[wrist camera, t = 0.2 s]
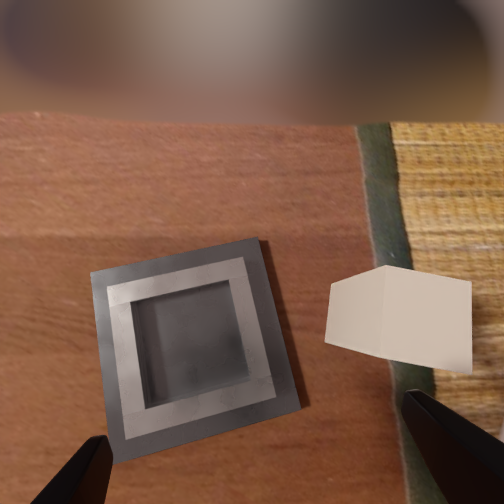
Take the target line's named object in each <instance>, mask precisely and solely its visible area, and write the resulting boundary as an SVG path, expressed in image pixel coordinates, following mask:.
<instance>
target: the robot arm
mask: <svg viewBox="0 0 504 504" xmlns="http://www.w3.org/2000/svg"><path fill="white" fill-rule="evenodd" d="M401 412H402V416H403V419H404V421H405V423H406V425H407V427H408V429H409V431H410V433H411V435H412V437H413V439H414V441H415V443H416V445H417V447H418V449H419V451H420V453H421V455H422V457H423V459H424V461H425V463H426V465H427V467H428V469H429V471H430V473H431V474H432V476H433V478H434V480H435V481H436V483H437V485H438V486H439V488H440V490H441V491H442V493H443V495H444V496H445V498H446V500H447V501H448V503H449V504H504V443H503V442H501V441H500V440H498V439H497V438H495V437H493V436H492V435H490V434H489V433H487V432H486V431H484V430H482V429H481V428H479V427H478V426H476V425H475V424H473V423H471V422H470V421H468V420H467V419H465V418H464V417H462V416H460V415H459V414H457V413H456V412H454V411H453V410H451V409H449V408H448V407H446V406H445V405H443V404H442V403H440V402H438V401H437V400H435V399H434V398H432V397H431V396H429V395H427V394H426V393H424V392H423V391H421V390H418V389H414V390H407V391H405V393H404V397H403V402H402V408H401ZM112 465H113V452H112V449H111V446H110V443H109V440H108V438H107V436H106V435H99V436H93V437H90V438H89V439H88V440H87V441H86V442H85V443H84V444H83V445H82V446H81V447H80V449H79V450H78V451H77V452H76V453H75V454H74V455H73V456H72V458H71V459H70V460H69V461H68V462H67V463H66V464H65V465H64V466H63V468H62V469H61V470H60V471H59V472H58V473H57V474H56V475H55V476H54V478H53V479H52V480H51V481H50V482H49V483H48V484H47V485H46V486H45V488H44V489H43V490H42V491H41V492H40V493H39V494H38V495H37V496H36V498H35V499H34V500H33V501H32V502H31V503H30V504H104V503H105V498H106V493H107V488H108V484H109V479H110V474H111V470H112Z"/></svg>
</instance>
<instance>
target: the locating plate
mask: <svg viewBox="0 0 504 504" xmlns="http://www.w3.org/2000/svg"><path fill="white" fill-rule="evenodd" d="M90 274H91V283H92V292H93V301H94V309H95V318H96V327H97V336H98V345H99V354H100V363H101V372H102V381H103V390H104V399H105V408H106V417H107V426H108V435H109V443H110V446H111V449H112V452H113V464H117V463H120V462H124V461H127V460H131V459H134V458H137V457H141V456H144V455H148V454H151V453H155V452H158V451H161V450H165V449H168V448H172V447H175V446H178V445H182V444H185V443H189V442H192V441H196V440H199V439H202V438H206V437H209V436H213V435H216V434H220V433H223V432H226V431H230V430H233V429H237V428H240V427H244V426H247V425H250V424H254V423H257V422H261V421H264V420H267V419H271V418H274V417H278V416H281V415H285V414H288V413H291V412H295V411H298V410H301V406H300V402H299V398H298V394H297V390H296V386H295V383H294V379H293V375H292V371H291V367H290V363H289V359H288V355H287V351H286V347H285V343H284V339H283V335H282V331H281V327H280V323H279V319H278V315H277V311H276V307H275V304H274V300H273V296H272V292H271V288H270V284H269V280H268V276H267V272H266V268H265V264H264V260H263V256H262V252H261V248H260V244H259V240H258V237H254V238H250V239H245V240H240V241H236V242H231V243H226V244H222V245H217V246H212V247H208V248H203V249H198V250H194V251H189V252H184V253H179V254H175V255H170V256H165V257H161V258H156V259H151V260H147V261H142V262H137V263H133V264H128V265H123V266H119V267H114V268H109V269H105V270H100V271H95V272H91V273H90Z"/></svg>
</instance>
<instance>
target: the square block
mask: <svg viewBox="0 0 504 504" xmlns="http://www.w3.org/2000/svg"><path fill="white" fill-rule="evenodd" d="M325 342H326V343H329V344H333V345H337V346H340V347H344V348H347V349H351V350H355V351H358V352H362V353H365V354H369V355H372V356H376V357H380V358H385V359H390V360H395V361H401V362H406V363H411V364H416V365H422V366H427V367H432V368H437V369H443V370H448V371H453V372H459V373H464V374H469V375H472V292H471V282H469V281H464V280H459V279H454V278H449V277H444V276H439V275H434V274H428V273H423V272H418V271H413V270H408V269H403V268H398V267H393V266H388V265H385V266H382V267H379V268H376V269H373V270H370V271H367V272H365V273H362V274H359V275H356V276H353V277H350V278H347V279H344V280H341V281H338V282H335V283H333V284H331V292H330V300H329V309H328V318H327V326H326V335H325Z"/></svg>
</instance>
